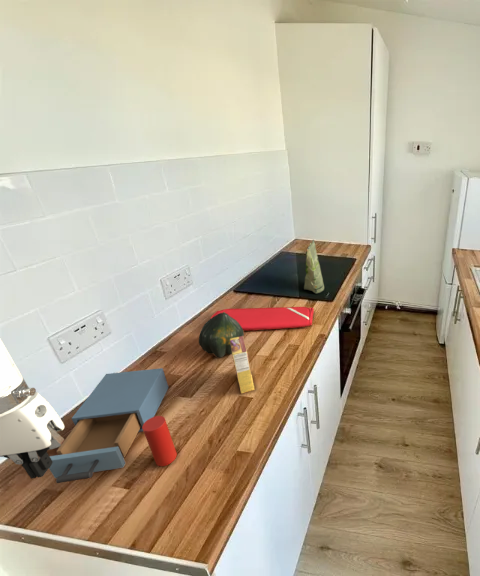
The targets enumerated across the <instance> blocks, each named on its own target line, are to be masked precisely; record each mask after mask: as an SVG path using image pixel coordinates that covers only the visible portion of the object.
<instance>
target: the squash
mask: <svg viewBox="0 0 480 576" xmlns="http://www.w3.org/2000/svg"><path fill="white" fill-rule="evenodd" d="M211 317H212V316H211ZM211 317H210V318H211ZM210 318H209V319H208V320H207V321H206V322H205V323H204V324H203V326H202V328H201V329H200V331H199V335H198V345H199V346H200V348H201V349H202V351H204V352H205V353H207V354H209V355H213V356H215V357H216V358H219V359H221V358H223V357H224V356H225V355H227V356H228V355H230V356H231V355H232V351H231V345H230V339H232V338H236V337H240V336H243V339H244V336H245V331H243V329H242V327H241V326H240V324H239V323H238V322H237V321H236V320H235V319H234V318H232V317H230V316H229V315H228V314H226V313H225V312H223V313H219V314H217V315H216V316H214V317H212V318H211V319H210ZM244 340H245V339H244Z"/></svg>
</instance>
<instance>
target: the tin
mask: <svg viewBox="0 0 480 576" xmlns="http://www.w3.org/2000/svg"><path fill="white" fill-rule="evenodd" d="M142 429H143V431H142V432H143V434H144V437H145V440H146V442H147V445H148V447H149V449H150V452H151V454H152V457H153V460H154V462H155V465H156V466H157V467H166V466H168V465H170V464H171V463H173V462H174V461H175V460H176V458H177V455H178V453H177V450H176V447H175V444H174V441H173V438H172V435H171V432H170V430H169V427H168V423H167V420H166V418H165V416H162V415H155V416H154V417H152V418H150V419H148V420H147V421H146V422H145V423H144V424H143V426H142Z"/></svg>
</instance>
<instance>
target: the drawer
mask: <svg viewBox="0 0 480 576" xmlns="http://www.w3.org/2000/svg"><path fill="white" fill-rule="evenodd" d="M140 427H141V423H140V421H139V418H138V415H137V413H129V414H121V415H113V416H105V417H97V418H89V419H81V420H79V422H78V423H77V424H76V426H75V425H74V427H73V428H72V429H71V431H70V432H69V434H68V435H67V436H66V438H64V439H65V441H64V442H63V444H62V445H61V446H60V447H58V448H57V449H56V453H57V454H56V455H49V456H50V458H51V460H52V461H53V463H52V465H51V466H50V468H49V469H48V470H49V471H50V473H51V474H52V476H53V477H54V479H55V483H56V484H63V483H68V482H69V483H70V482H75V481H82V480H87V479H91V478H92V477H93V476H94V473H97V472H104V471H110V470H111V471H112V470H118V469H122V468H125V465H126V460H125V457H126V456H127V455H128V453H129V450H130V448H131V446H132V445H133V444H134V443H133V442H134V441H135V439H136V437H137V435H138V433H139V432H138V431H139V429H140Z"/></svg>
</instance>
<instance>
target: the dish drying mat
mask: <svg viewBox="0 0 480 576" xmlns="http://www.w3.org/2000/svg"><path fill="white" fill-rule="evenodd" d="M314 309H315V308H314V307H307V306H286V307H285V306H284V307H282V306H281V307H279V306H278V307H246V308H242V307H241V308H225V309H220V310H216V311H215V313H213V314H212V315H211V317H210V318H209V320H210V319H211V318H212V317H214V316H216V315H217V314H219V313H223V312H225V313H226V314H228V315H229V316H230V317H232V318H234V319H235V320H236V321H237V322H238V323H239V324H240V326H241V327H242V329H243V331H244V332H245V331H263V330H280V329H296V328H305V327H310V326H312V325H313V318H314V312H315V310H314Z"/></svg>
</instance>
